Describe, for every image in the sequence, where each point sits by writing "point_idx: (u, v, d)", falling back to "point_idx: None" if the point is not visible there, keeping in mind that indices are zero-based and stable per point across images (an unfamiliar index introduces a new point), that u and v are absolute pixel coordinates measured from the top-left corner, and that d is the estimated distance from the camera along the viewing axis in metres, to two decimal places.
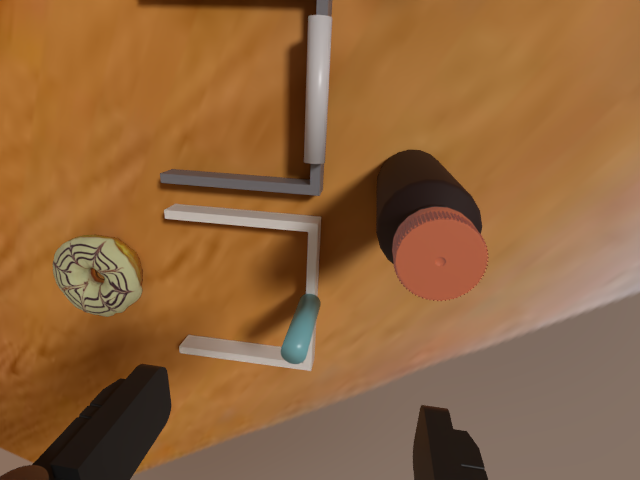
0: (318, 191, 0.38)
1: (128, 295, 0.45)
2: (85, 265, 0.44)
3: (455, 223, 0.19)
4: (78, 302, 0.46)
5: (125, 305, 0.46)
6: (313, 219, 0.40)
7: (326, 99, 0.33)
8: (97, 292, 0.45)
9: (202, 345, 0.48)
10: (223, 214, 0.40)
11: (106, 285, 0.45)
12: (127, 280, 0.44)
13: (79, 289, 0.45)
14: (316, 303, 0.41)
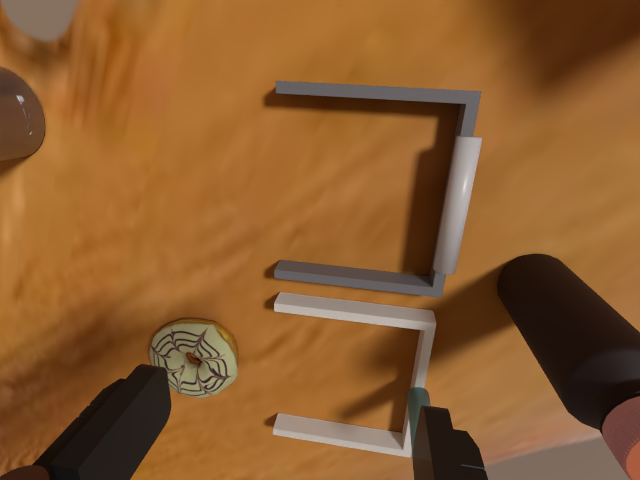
0: (441, 293, 0.37)
1: (226, 380, 0.45)
2: (185, 351, 0.44)
3: None
4: (174, 385, 0.45)
5: (221, 388, 0.45)
6: (428, 316, 0.39)
7: (466, 214, 0.32)
8: (195, 376, 0.45)
9: (296, 427, 0.47)
10: (335, 309, 0.40)
11: (205, 370, 0.44)
12: (227, 366, 0.44)
13: (177, 372, 0.45)
14: (428, 399, 0.40)
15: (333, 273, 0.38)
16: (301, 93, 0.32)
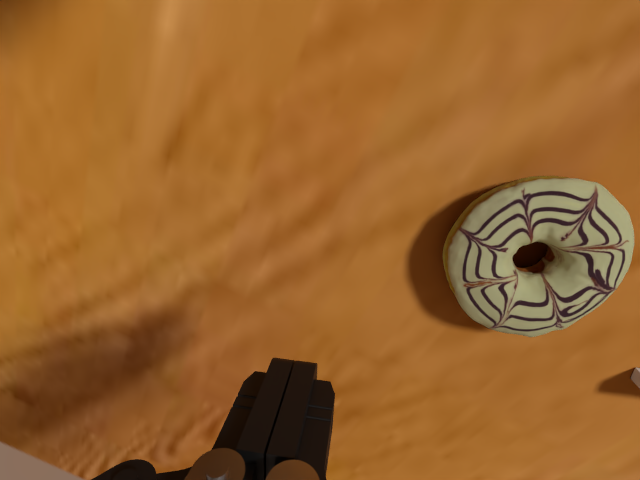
0: None
1: (607, 297, 0.23)
2: (540, 237, 0.22)
3: None
4: (495, 310, 0.24)
5: None
6: None
7: None
8: (543, 291, 0.23)
9: None
10: None
11: (572, 277, 0.23)
12: (623, 267, 0.22)
13: (509, 284, 0.23)
14: None
15: None
16: None
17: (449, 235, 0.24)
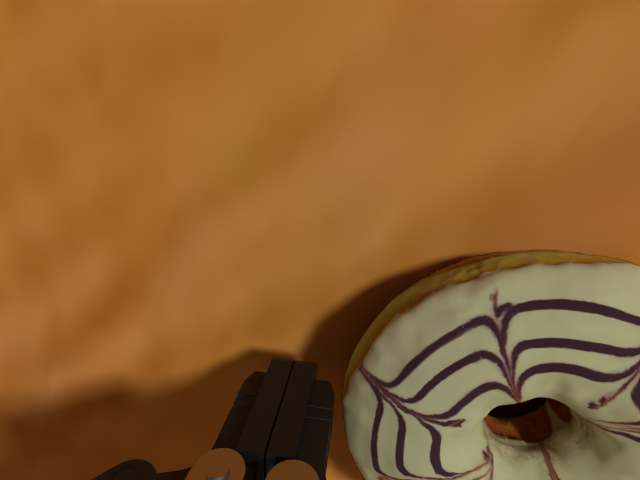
0: None
1: None
2: (538, 395, 0.09)
3: None
4: None
5: None
6: None
7: None
8: None
9: None
10: None
11: None
12: None
13: None
14: None
15: None
16: None
17: (349, 367, 0.11)
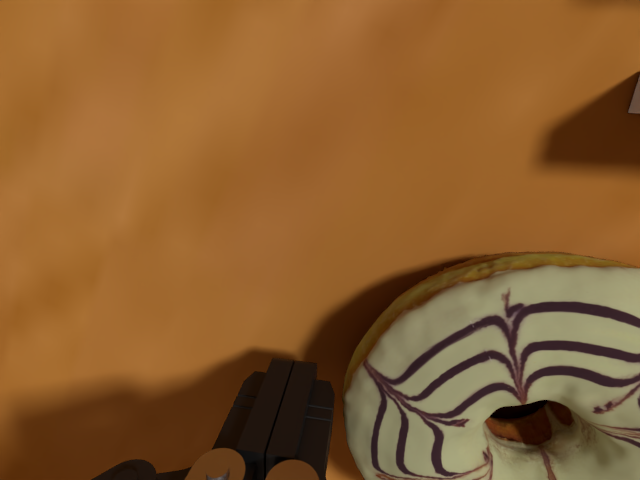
0: None
1: None
2: (543, 398, 0.09)
3: None
4: None
5: None
6: None
7: None
8: None
9: None
10: None
11: None
12: None
13: None
14: None
15: None
16: None
17: (351, 363, 0.11)
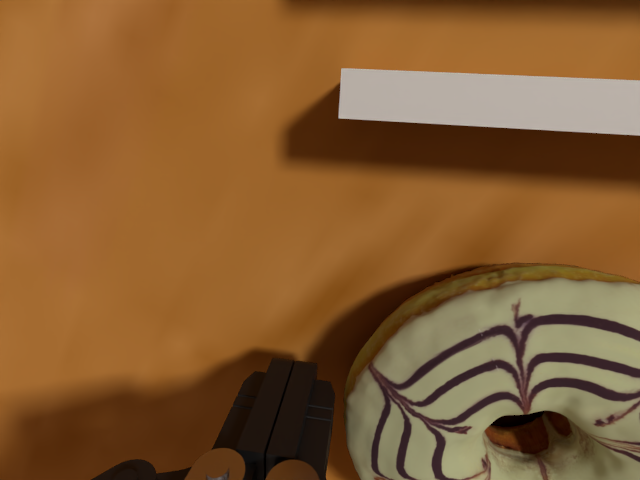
0: None
1: None
2: (546, 408, 0.09)
3: None
4: None
5: None
6: None
7: None
8: None
9: None
10: None
11: None
12: None
13: None
14: None
15: None
16: None
17: (355, 365, 0.11)
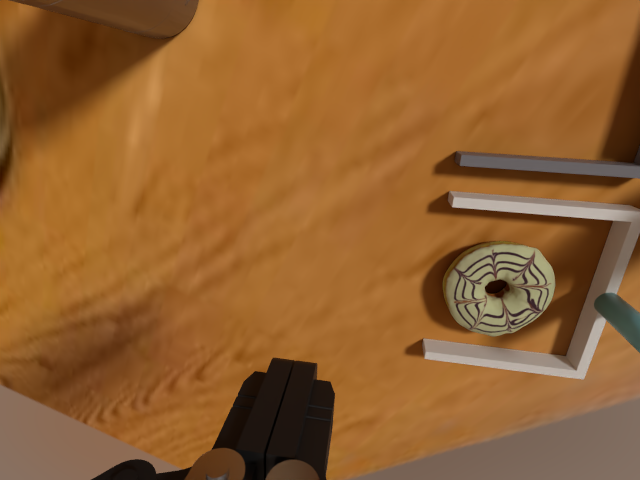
0: None
1: (538, 315, 0.38)
2: (501, 277, 0.37)
3: None
4: (472, 318, 0.39)
5: (524, 325, 0.39)
6: (630, 208, 0.35)
7: None
8: (501, 308, 0.39)
9: (450, 350, 0.43)
10: (525, 202, 0.35)
11: (518, 302, 0.38)
12: (548, 298, 0.38)
13: (481, 303, 0.38)
14: None
15: (528, 158, 0.34)
16: None
17: (448, 271, 0.39)
